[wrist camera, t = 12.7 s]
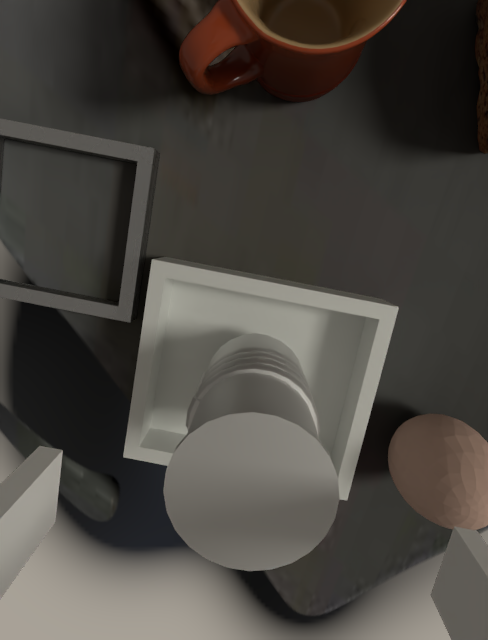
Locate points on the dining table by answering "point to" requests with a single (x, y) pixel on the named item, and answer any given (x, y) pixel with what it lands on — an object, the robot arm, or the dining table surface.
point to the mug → (282, 44)
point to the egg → (441, 470)
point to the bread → (482, 73)
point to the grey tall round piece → (252, 461)
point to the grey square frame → (137, 226)
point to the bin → (246, 318)
